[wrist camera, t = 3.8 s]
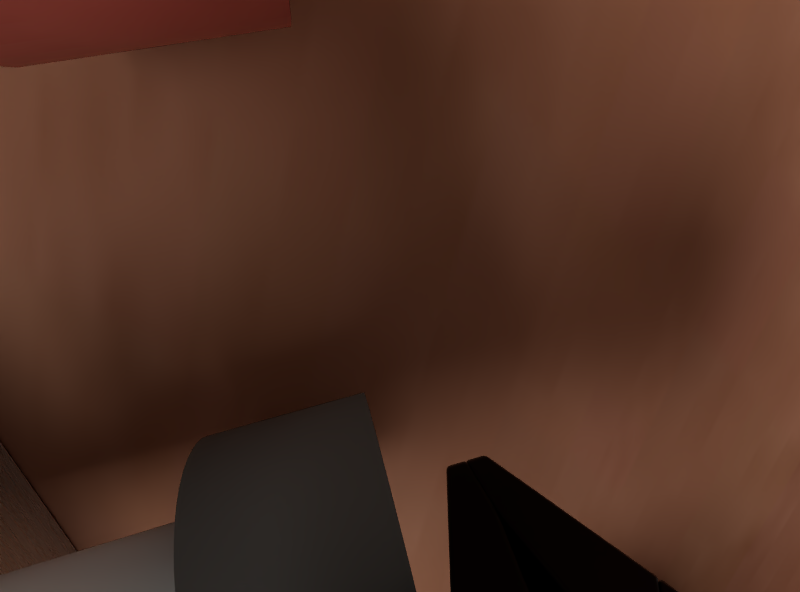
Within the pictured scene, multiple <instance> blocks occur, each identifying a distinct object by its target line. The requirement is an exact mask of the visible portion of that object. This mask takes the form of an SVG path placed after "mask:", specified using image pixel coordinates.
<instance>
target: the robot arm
mask: <svg viewBox="0 0 800 592" xmlns="http://www.w3.org/2000/svg"><path fill="white" fill-rule="evenodd" d="M447 500H448V529H449V558H450V587H451V592H678V591H676V590H675V589H674V588H672V587H671V586H669V585H668V584H667V583H665V582H664V581H662V580H660V581H659V582H658V579H657V577H656V576H655V575H654V574H652V573H651V572H649V571H648V570H647V569H645V568H644V567H642V566H641V565H640V564H638V563H637V562H635V561H634V560H632V559H631V558H630V557H628V556H627V555H625V554H624V553H623V552H621V551H620V550H618V549H617V548H616V547H614V546H613V545H611V544H610V543H608V542H607V541H606V540H604V539H603V538H601V537H600V536H599V535H597V534H596V533H594V532H593V531H592V530H590V529H589V528H587V527H586V526H585V525H583V524H582V523H580V522H579V521H577V520H576V519H575V518H573V517H572V516H570V515H569V514H568V513H566V512H565V511H563V510H562V509H561V508H559V507H558V506H556V505H555V504H553V503H552V502H551V501H549V500H548V499H546V498H545V497H544V496H542V495H541V494H539V493H538V492H537V491H535V490H534V489H532V488H531V487H530V486H528V485H527V484H525V483H524V482H522V481H521V480H520V479H518V478H517V477H515V476H514V475H513V474H511V473H510V472H508V471H507V470H506V469H504V468H503V467H501V466H500V465H498V464H497V463H496V462H494V461H493V460H491V459H490V458H489V457H487V456H480V457H477V458H473V459H470V460H468V461H467V462H460V463H457V464H454V465H450V466H448V467H447Z"/></svg>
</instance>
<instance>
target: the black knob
mask: <svg viewBox="0 0 800 592" xmlns="http://www.w3.org/2000/svg"><path fill="white" fill-rule="evenodd" d="M0 592H416V589H415V585H414V580H413V576H412V572H411V568H410V564H409V560H408V556H407V552H406V548H405V545H404V541H403V537H402V533H401V529H400V525H399V521H398V517H397V513H396V509H395V505H394V501H393V497H392V494H391V490H390V486H389V482H388V478H387V474H386V470H385V466H384V463H383V459H382V455H381V451H380V447H379V444H378V440H377V436H376V432H375V429H374V425H373V421H372V417H371V414H370V410H369V407H368V403H367V400H366V396H365V393H360V394H357V395H353V396H349V397H346V398H342V399H339V400H335V401H331V402H328V403H324V404H321V405H317V406H313V407H310V408H306V409H303V410H299V411H295V412H292V413H288V414H285V415H281V416H277V417H274V418H270V419H267V420H263V421H260V422H256V423H252V424H249V425H245V426H242V427H238V428H234V429H231V430H227V431H224V432H220V433H216V434H213V435H209V436H206V437H203V438H202V439H201V440H199V441H198V442H197V443H196V445H195V446H194V447H193V449H192V451H191V453H190V455H189V457H188V459H187V462H186V465H185V467H184V470H183V474H182V478H181V482H180V487H179V492H178V498H177V505H176V515H175V522H173V523H170V524H167V525H163V526H160V527H157V528H153V529H150V530H147V531H143V532H140V533H137V534H134V535H130V536H127V537H124V538H120V539H117V540H114V541H110V542H107V543H104V544H100V545H97V546H94V547H91V548H87V549H84V550H81V551H77V552H74V553H71V554H67V555H64V556H61V557H58V558H54V559H51V560H48V561H44V562H41V563H38V564H34V565H31V566H28V567H25V568H21V569H18V570H15V571H11V572H8V573H5V574H1V575H0Z"/></svg>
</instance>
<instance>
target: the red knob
mask: <svg viewBox="0 0 800 592" xmlns="http://www.w3.org/2000/svg"><path fill="white" fill-rule="evenodd" d="M286 27H291V12H290V3H289V0H0V66H3V67H24V66H30V65H37V64H44V63H50V62H57V61H64V60H71V59H77V58H84V57H91V56H97V55H104V54H111V53H118V52H124V51H131V50H138V49H145V48H151V47H158V46H165V45H171V44H178V43H185V42H192V41H198V40H205V39H212V38H218V37H225V36H232V35H239V34H245V33H252V32H259V31H265V30H272V29H279V28H286Z"/></svg>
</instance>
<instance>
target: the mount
mask: <svg viewBox="0 0 800 592" xmlns="http://www.w3.org/2000/svg"><path fill="white" fill-rule="evenodd" d="M74 552H77V551H76V549H75V548H74V546H73V545H72V544H71V542H70V541H69V539H68V538H67V536H66V535H65V534H64V532H63V531H62V529H61V528H60V526H59V525H58V524H57V522H56V521H55V519H54V518H53V516H52V515H51V513H50V512H49V511H48V509H47V508H46V506H45V505H44V503H43V502H42V501H41V499H40V498H39V496H38V495H37V493H36V492H35V491H34V489H33V488H32V486H31V485H30V483H29V482H28V481H27V479H26V478H25V476H24V475H23V473H22V472H21V471H20V469H19V468H18V466H17V465H16V463H15V462H14V461H13V459H12V458H11V456H10V455H9V453H8V452H7V450H6V449H5V448H4V446H3V445H2V443H1V442H0V575H1V574H5V573H8V572H11V571H15V570H18V569H21V568H25V567H28V566H31V565H34V564H38V563H41V562H44V561H48V560H51V559H54V558H58V557H61V556H64V555H67V554H71V553H74Z"/></svg>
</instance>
